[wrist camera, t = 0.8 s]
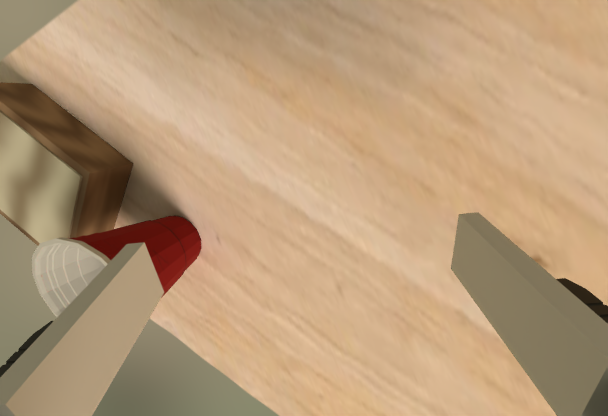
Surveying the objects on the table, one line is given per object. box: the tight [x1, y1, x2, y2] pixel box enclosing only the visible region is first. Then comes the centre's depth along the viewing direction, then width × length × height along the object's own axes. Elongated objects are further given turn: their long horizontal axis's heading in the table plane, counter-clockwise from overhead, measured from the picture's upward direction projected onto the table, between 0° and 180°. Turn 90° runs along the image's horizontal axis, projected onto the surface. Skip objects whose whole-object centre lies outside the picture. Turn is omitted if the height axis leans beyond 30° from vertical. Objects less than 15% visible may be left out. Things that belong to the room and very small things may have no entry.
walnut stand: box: [0, 83, 133, 246], centre depth 33 cm, size 16×15×10 cm
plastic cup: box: [32, 216, 201, 317], centre depth 29 cm, size 11×11×12 cm
